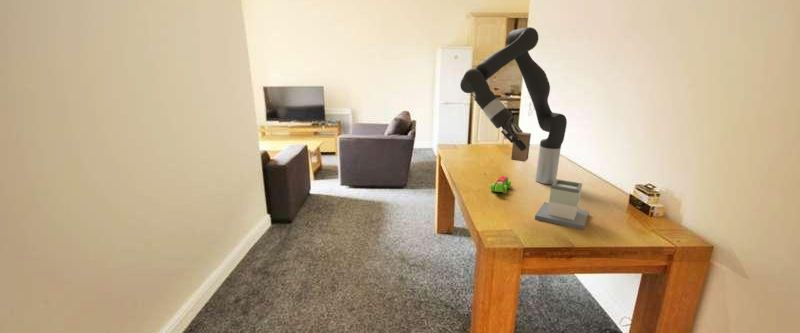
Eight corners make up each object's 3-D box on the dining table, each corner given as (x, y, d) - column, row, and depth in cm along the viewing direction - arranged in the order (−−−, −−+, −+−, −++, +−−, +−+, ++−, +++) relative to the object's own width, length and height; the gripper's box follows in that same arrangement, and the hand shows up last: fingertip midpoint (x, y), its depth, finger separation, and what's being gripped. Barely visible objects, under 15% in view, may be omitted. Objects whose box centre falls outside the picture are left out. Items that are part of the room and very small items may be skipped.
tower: (543, 205, 143) (548, 175, 140) (588, 214, 135) (593, 182, 132) (534, 219, 130) (539, 186, 127) (583, 230, 122) (589, 195, 119)
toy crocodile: (498, 182, 171) (499, 170, 170) (512, 184, 168) (513, 172, 167) (488, 195, 154) (489, 181, 153) (503, 197, 152) (505, 184, 150)
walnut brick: (514, 157, 140) (517, 131, 137) (527, 159, 137) (530, 133, 135) (511, 159, 136) (513, 133, 133) (524, 161, 133) (527, 135, 130)
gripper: (499, 108, 129) (529, 145, 126) (510, 105, 141) (538, 139, 138) (483, 121, 133) (512, 157, 131) (496, 117, 145) (523, 150, 142)
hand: (525, 148), depth 134 cm, fingers closed on walnut brick, 5 cm apart
